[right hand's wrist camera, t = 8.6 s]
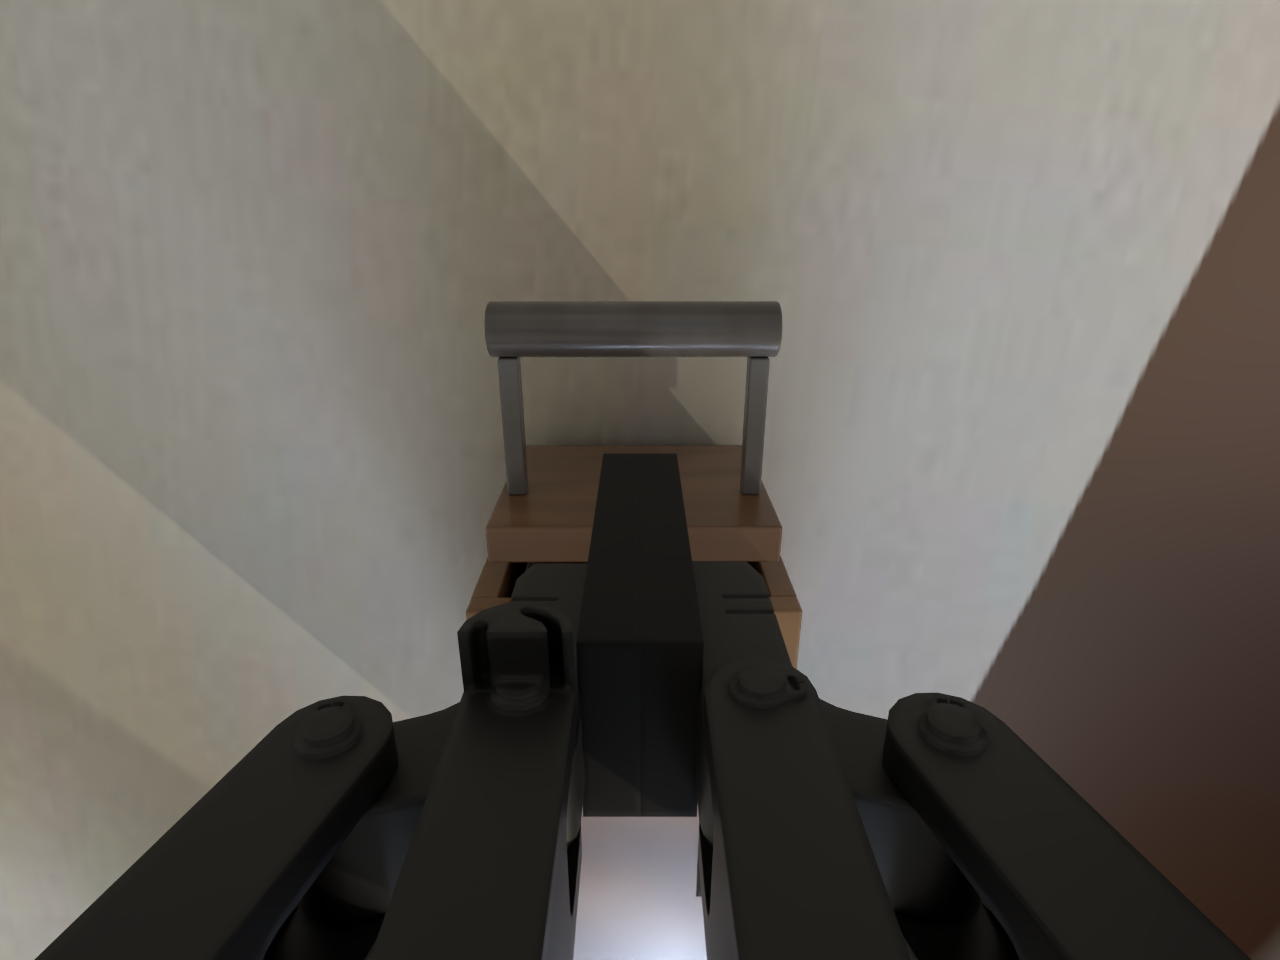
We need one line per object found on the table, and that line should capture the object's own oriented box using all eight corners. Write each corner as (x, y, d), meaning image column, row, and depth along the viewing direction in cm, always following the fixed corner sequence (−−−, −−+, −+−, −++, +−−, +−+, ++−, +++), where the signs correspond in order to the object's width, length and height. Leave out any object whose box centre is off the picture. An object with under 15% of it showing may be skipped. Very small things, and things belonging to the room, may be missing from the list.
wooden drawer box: (514, 490, 29) (464, 611, 21) (754, 489, 29) (803, 610, 21) (538, 823, 36) (509, 1014, 28) (732, 822, 36) (761, 1012, 28)
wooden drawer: (510, 282, 25) (465, 316, 18) (756, 282, 25) (801, 316, 18) (544, 787, 34) (522, 933, 27) (725, 786, 34) (747, 931, 27)
